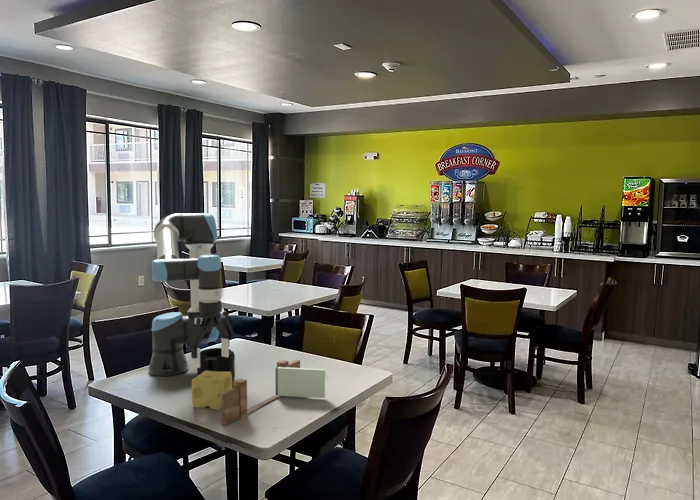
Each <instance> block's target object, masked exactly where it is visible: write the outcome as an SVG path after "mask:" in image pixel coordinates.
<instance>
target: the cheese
mask: <svg viewBox="0 0 700 500" xmlns="http://www.w3.org/2000/svg"><path fill="white" fill-rule="evenodd" d="M232 388H233V382H232V374H231V372H216V371H204V372H202V373H201V374H200V375H199V376H196V377H193V379H191V402H192V404H191V405H192V407H193V408H199V409H201V408H202V409H203V408H204V409H205V408H209V409H210V410H211V409H212V410H216V411H217V410H218V411H219V410H222V397H221V393H223V392H225V391H228V390H230V389H232Z"/></svg>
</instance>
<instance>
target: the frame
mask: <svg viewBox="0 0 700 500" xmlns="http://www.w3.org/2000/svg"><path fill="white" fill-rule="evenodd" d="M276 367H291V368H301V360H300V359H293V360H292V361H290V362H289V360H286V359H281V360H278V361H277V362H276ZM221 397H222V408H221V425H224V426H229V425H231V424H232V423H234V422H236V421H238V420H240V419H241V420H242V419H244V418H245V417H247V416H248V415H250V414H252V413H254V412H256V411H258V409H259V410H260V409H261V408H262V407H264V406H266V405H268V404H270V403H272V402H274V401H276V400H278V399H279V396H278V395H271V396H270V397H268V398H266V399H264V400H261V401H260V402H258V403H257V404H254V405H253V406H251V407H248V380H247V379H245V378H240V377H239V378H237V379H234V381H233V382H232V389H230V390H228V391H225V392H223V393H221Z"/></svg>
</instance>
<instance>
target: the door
mask: <svg viewBox="0 0 700 500" xmlns="http://www.w3.org/2000/svg"><path fill="white" fill-rule="evenodd" d="M274 374H275V376H274V378H275V379H274V381H275V382H274V383H275V396H278V397H279V396H280V397H297V398H301V397H302V398H313V399H314V398H315V399H317V398H318V399H319V398H320V399H325V398H326V369H325V368H310V367H309V368H306V367H300V368H291V367H277V366H276V367H275V373H274Z"/></svg>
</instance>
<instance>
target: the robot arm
mask: <svg viewBox="0 0 700 500" xmlns="http://www.w3.org/2000/svg"><path fill="white" fill-rule="evenodd" d="M216 222H217V221H216V219H215V217H214V215H213V214H211V213H205V212H198V213H197V212H196V213H195V212H193V213H191V212H189V213H179V212H178V213H177V212H176V213H172V214H169V215H166V216H165V217H163V218H162V219H160V220H159V221H158V222H157V223H156V225H155V227H154V228H153V229H154V230H153V238H154V240H155V242H156V259H154V260H152V261H151V279H152V280H153V281H154V282H164V283H165V282H174V281H190V282H189V283H190V284H189V285H190V286H189V287H190V307H189V309H188V310H187V311H186V313H187V315H183V313H182V312H180V311H177V312H175V311H173V312H172V311H171V312H167V313H162V314H159V315H156V316H155V317H154V318H152V322H151V325H152V326H151V332H152V355H151V359H150V362H149V365H148V374H150V376H151V375H152V376H155V377H169V376H176V375H181V374H183V373H185V372H187V371H188V369H189V366H188V361H187V359H186V355H185V352H184V348H183V346H184V345H185V347H186V348H189V349H190V357H191V359H192V368H196V369H197V368H200V352H201V348H199V346H200V344H202V343H206V344H207V343H210V342H216V340H217V339H219V336H220V335H221V336H222V337H221V340H220V341H221V344H220V345H221V346H220V348H221V349H222V356H223V357H229V349H230V348H229V347H230V339H232V338H233V336H234V335H235V331H234V330H233V327H232V325H231V322H230V320H229V318H228V311H225V310H222V309H223V307H222V306H223V305H222V262H221V261H222V259H221V256H219V254H212V253H211V249H212V248H213V247H214V245H215V242H216V241H218V239H219V238H218V229H217V223H216ZM178 242H184V243H185V244H184V246H185V247H186V248H187V249H188V250H189V258H180V253H179V243H178ZM219 334H220V335H219Z"/></svg>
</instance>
